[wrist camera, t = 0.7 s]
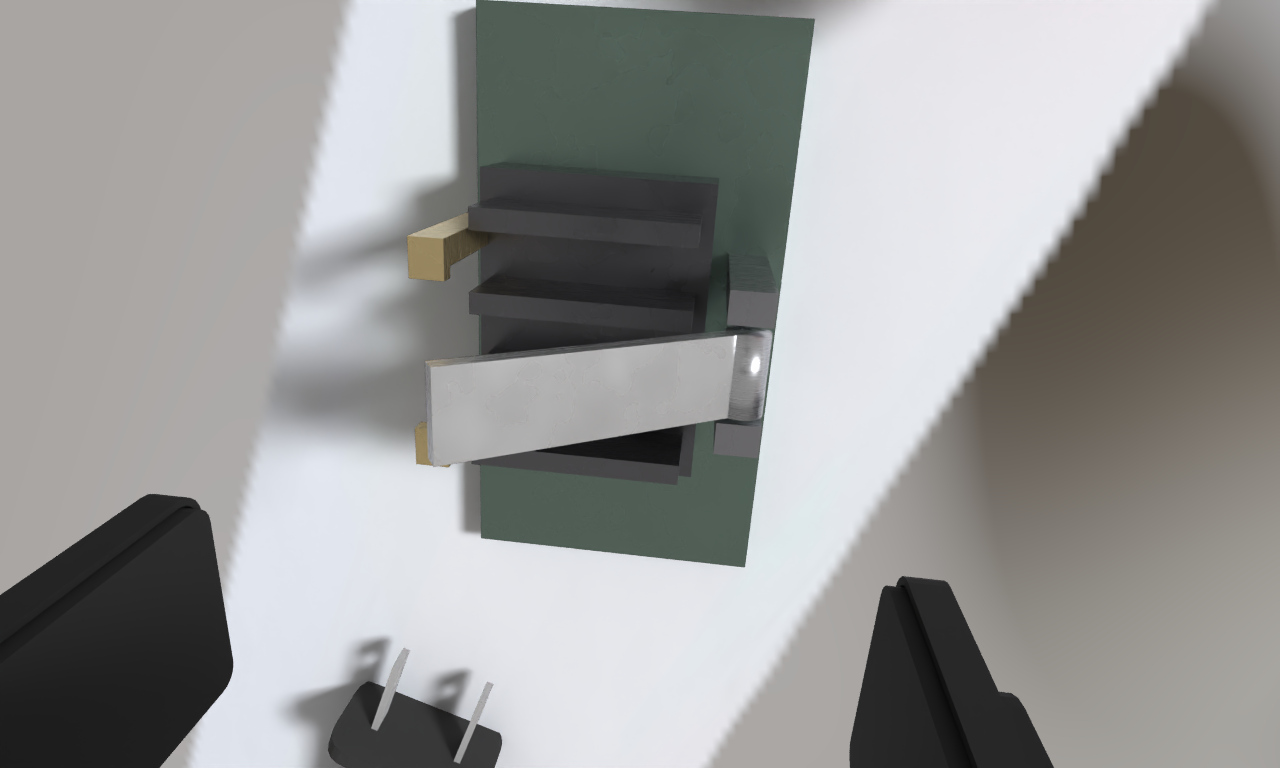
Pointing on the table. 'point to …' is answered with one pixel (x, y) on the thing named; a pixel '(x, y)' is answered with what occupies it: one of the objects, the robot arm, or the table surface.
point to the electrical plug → (409, 731)
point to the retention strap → (591, 392)
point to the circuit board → (626, 247)
